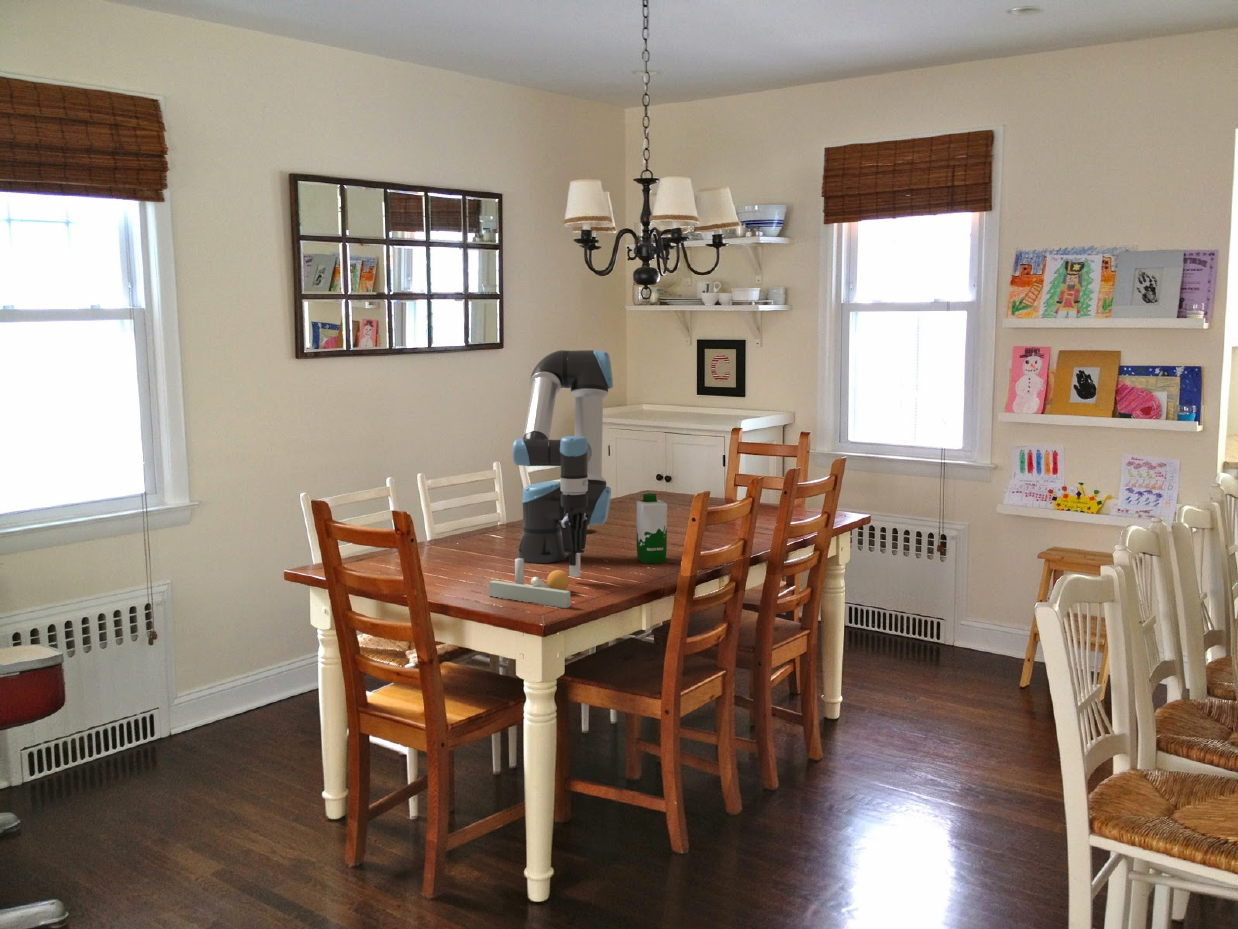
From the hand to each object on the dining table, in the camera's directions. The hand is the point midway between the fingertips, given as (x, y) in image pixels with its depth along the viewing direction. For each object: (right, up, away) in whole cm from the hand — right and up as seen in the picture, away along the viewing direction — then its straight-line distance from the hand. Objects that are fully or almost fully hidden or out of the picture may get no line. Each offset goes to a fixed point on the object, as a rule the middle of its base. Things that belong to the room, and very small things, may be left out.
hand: (574, 576), depth 306 cm
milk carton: (+22, +2, +28) cm, 36 cm away
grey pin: (-15, -3, -8) cm, 17 cm away
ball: (-4, 0, -10) cm, 11 cm away
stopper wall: (-11, -5, -20) cm, 23 cm away
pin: (-7, -3, -13) cm, 15 cm away
